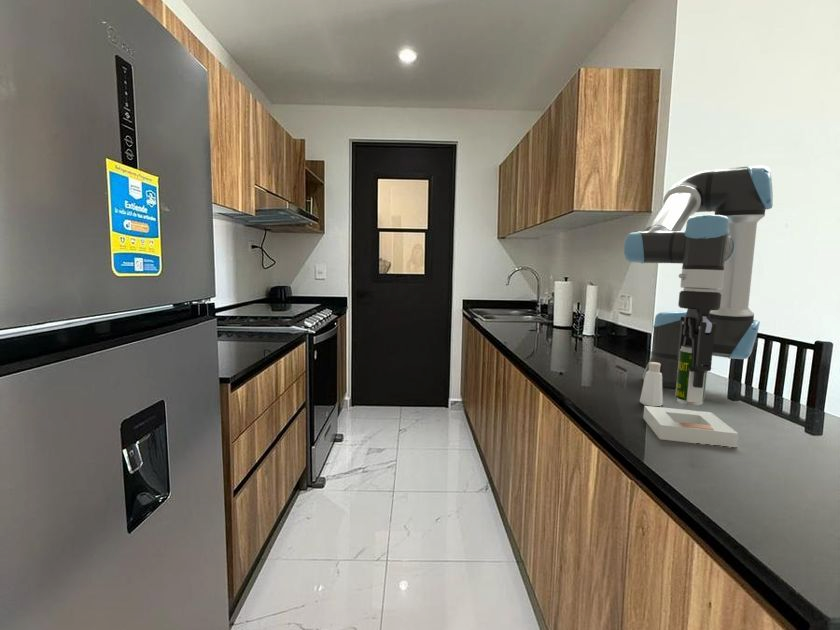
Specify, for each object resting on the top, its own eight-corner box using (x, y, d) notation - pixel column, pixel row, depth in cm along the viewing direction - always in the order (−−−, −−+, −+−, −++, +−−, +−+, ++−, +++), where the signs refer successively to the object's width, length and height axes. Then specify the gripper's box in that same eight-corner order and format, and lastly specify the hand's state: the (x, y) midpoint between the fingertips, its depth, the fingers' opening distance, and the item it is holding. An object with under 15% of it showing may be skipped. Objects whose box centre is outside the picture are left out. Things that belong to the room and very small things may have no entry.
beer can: (693, 398, 99) (699, 345, 97) (709, 406, 93) (715, 349, 92) (669, 397, 99) (674, 344, 98) (683, 405, 93) (689, 348, 92)
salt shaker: (663, 408, 114) (668, 366, 113) (640, 405, 116) (644, 363, 115) (661, 402, 119) (665, 362, 118) (638, 399, 121) (642, 359, 120)
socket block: (643, 418, 105) (644, 404, 105) (709, 425, 102) (711, 411, 101) (659, 439, 92) (660, 424, 91) (736, 448, 88) (738, 432, 88)
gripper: (667, 288, 103) (658, 386, 106) (696, 290, 86) (684, 408, 88) (704, 290, 102) (693, 389, 104) (740, 292, 84) (727, 412, 86)
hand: (689, 397), depth 96 cm, fingers closed on beer can, 5 cm apart
